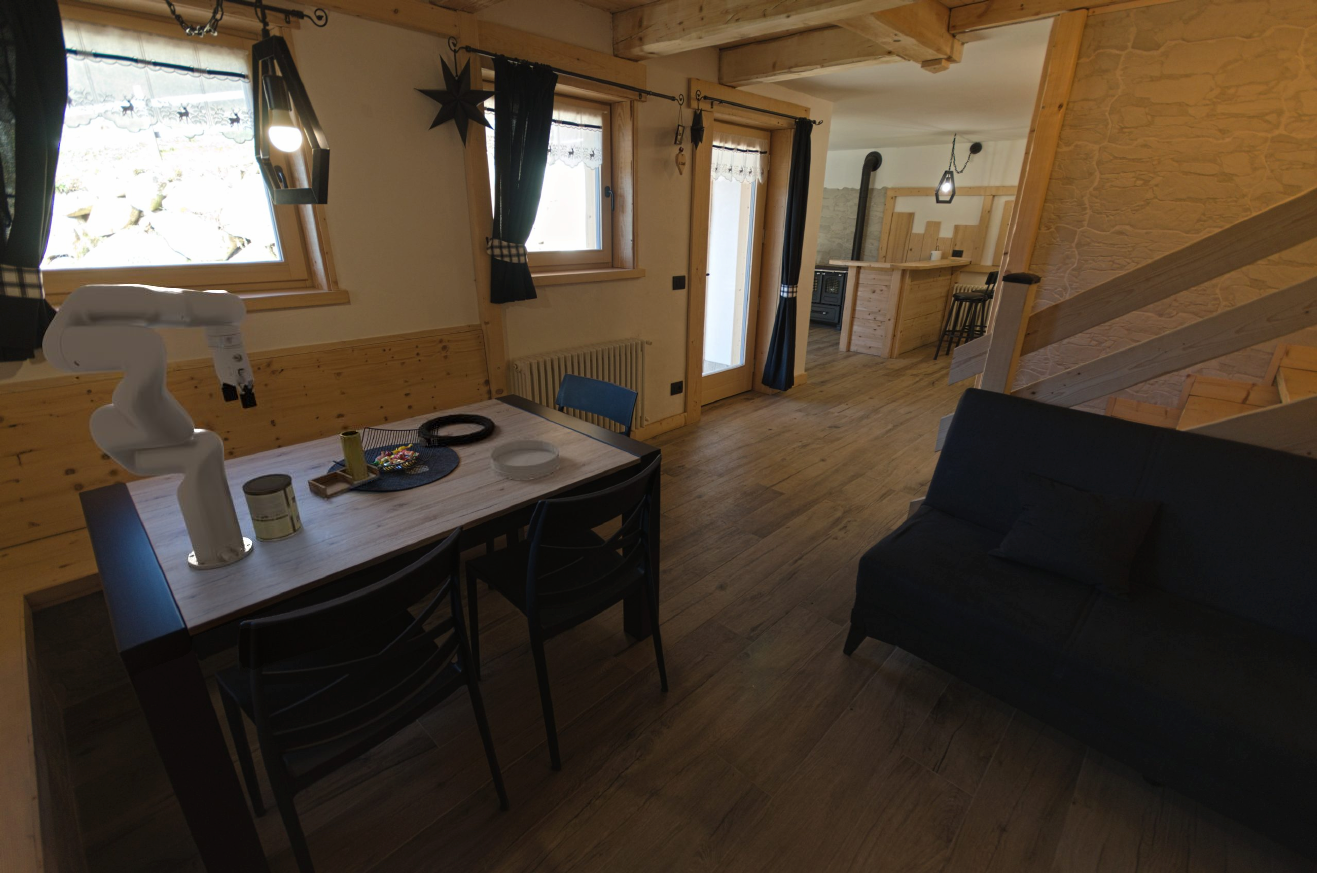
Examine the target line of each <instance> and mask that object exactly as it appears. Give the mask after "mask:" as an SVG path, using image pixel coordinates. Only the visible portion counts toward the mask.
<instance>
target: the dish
mask: <svg viewBox="0 0 1317 873" xmlns="http://www.w3.org/2000/svg"><path fill="white" fill-rule="evenodd" d="M490 459H491V461H490V466H491V472H492V471H493V472H494V473H493V472H492V473H493V474H494V475H495V474H497V475H498V476H497V475H496V476H497V477H499V476H501V477H505V478H511V479H530V478H537V477H541V478H543V477H542V476H545V475H547V476H549V475H548V474H550V473H552V472H553V473H555V472H556V471H557V470H558V469H559V468H560V466H561V458H560V450H559V447H557V445H555V444H554V443H552V442H547V441H544V440H539V439H537V440H536V439H535V440H534V439H526V440H525V439H524V440H515V441H512V442H511V441H510V442H507V443H504V444H501V445H499V446H497V447H495V448H494V449H493V450H492V451H491V453H490ZM559 465H560V466H559ZM558 467H559V468H558ZM557 468H558V469H557ZM556 469H557V470H556ZM555 470H556V471H555ZM554 471H555V472H554ZM553 473H552V474H553ZM550 475H551V474H550ZM501 477H500V478H501ZM545 477H546V476H545ZM505 478H504V479H505ZM511 479H510V480H511ZM537 479H538V478H537ZM530 480H531V479H530Z"/></svg>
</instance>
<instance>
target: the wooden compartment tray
mask: <svg viewBox="0 0 1317 873" xmlns="http://www.w3.org/2000/svg"><path fill="white" fill-rule="evenodd" d="M366 465H367V470H368V473H369V476H368V477H367V478H365V479H362V480H358V481H354V479H353V477H351V476H349V475H347V473H346V466H345V467H342V468H340V469H337V470H334V471H331V472H329V473H325V474H322V475H319V476H317V477H314V478H311V479H309V480H307V483H308V484H307V485H308V488H309V492H311V493H312V492H313V493H312V494H314V493H315V494H314V495H317V496H319V495H320V496H319V497H321V498H323V497H324V498H323V499H325V498H327V499H330V498H332V496H333V497H335V496H338V495H340V494H343V493H345V492H344V491H346V490H347V489H348V488H349V487H351V486H353V485H356V484H360V483H362V482H365V481H367V480H370V479H374V478H377V477H379V476H380V471H379V467H377V466H374V465H372V464H369V463H366ZM346 492H347V491H346ZM339 493H340V494H339ZM337 494H338V495H337ZM334 495H335V496H334ZM329 497H330V498H329Z"/></svg>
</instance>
